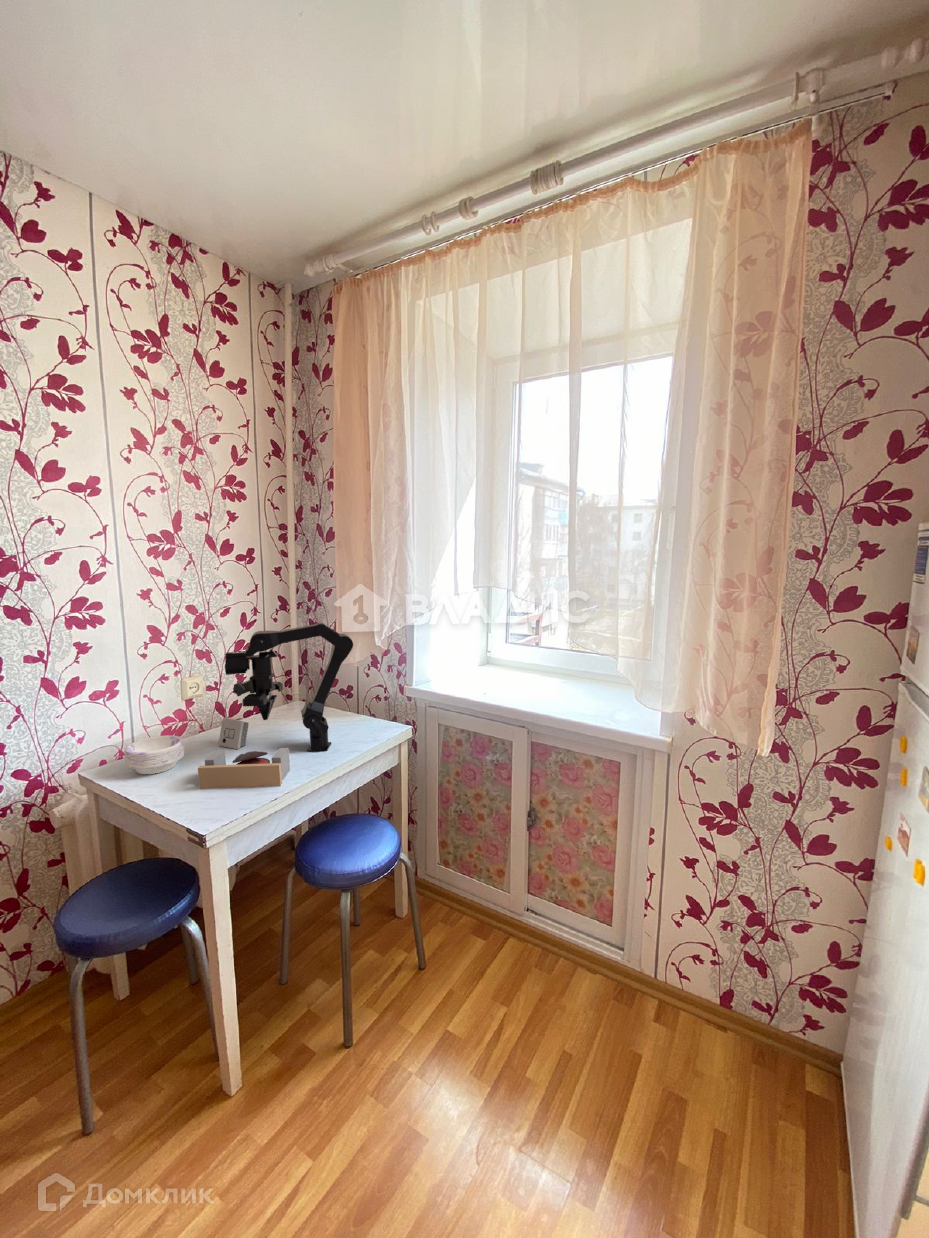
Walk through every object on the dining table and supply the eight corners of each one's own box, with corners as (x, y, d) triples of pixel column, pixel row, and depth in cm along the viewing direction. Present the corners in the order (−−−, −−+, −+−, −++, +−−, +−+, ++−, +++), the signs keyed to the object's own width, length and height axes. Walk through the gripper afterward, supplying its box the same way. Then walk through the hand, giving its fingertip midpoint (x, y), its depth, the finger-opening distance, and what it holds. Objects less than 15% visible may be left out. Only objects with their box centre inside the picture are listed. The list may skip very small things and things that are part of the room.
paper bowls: (197, 761, 154) (194, 737, 153) (151, 782, 140) (149, 755, 139) (161, 755, 160) (159, 731, 158) (114, 775, 145) (111, 749, 144)
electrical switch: (218, 746, 167) (218, 718, 166) (231, 742, 171) (231, 715, 171) (237, 750, 163) (237, 722, 162) (250, 746, 167) (250, 719, 167)
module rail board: (216, 772, 146) (214, 750, 145) (291, 770, 146) (290, 747, 145) (199, 788, 136) (197, 764, 135) (280, 785, 136) (278, 761, 136)
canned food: (236, 795, 141) (216, 767, 140) (255, 776, 151) (237, 749, 150) (266, 780, 139) (247, 751, 137) (284, 762, 148) (266, 734, 147)
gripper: (248, 665, 163) (251, 711, 165) (222, 679, 145) (226, 730, 147) (282, 664, 164) (284, 710, 166) (261, 678, 145) (264, 729, 147)
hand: (265, 719), depth 156 cm, fingers closed
